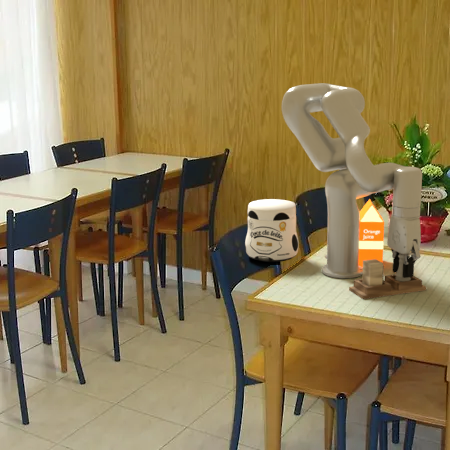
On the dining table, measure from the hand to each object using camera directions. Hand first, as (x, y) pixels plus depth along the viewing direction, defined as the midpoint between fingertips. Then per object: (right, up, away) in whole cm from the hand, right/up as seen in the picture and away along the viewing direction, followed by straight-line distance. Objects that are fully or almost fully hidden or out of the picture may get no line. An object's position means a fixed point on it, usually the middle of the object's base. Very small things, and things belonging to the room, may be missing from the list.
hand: (402, 273), depth 205 cm
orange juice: (-5, +1, +24) cm, 24 cm away
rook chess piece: (0, -2, +1) cm, 2 cm away
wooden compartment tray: (-5, -5, -1) cm, 6 cm away
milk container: (-35, +3, +31) cm, 47 cm away
